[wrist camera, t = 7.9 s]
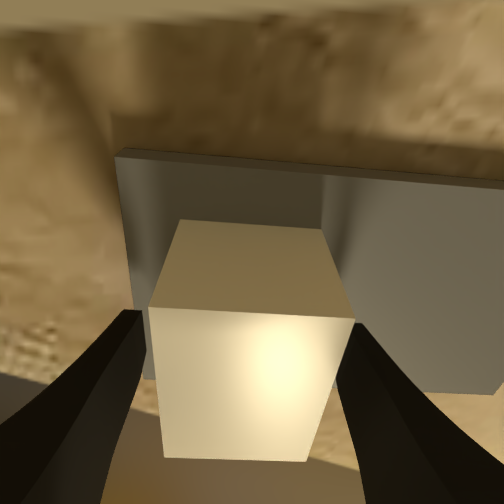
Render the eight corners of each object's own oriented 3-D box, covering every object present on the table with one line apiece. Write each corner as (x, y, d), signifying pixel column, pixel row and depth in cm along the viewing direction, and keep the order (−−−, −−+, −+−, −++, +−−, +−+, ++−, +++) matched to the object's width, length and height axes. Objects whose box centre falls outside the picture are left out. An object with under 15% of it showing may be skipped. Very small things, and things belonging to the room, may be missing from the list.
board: (619, 190, 12) (758, 248, 9) (481, 378, 18) (534, 455, 15) (123, 147, 11) (71, 195, 8) (148, 362, 17) (124, 441, 14)
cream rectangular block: (321, 229, 12) (356, 318, 8) (291, 359, 16) (306, 461, 12) (180, 219, 12) (147, 307, 8) (184, 354, 15) (164, 457, 12)
